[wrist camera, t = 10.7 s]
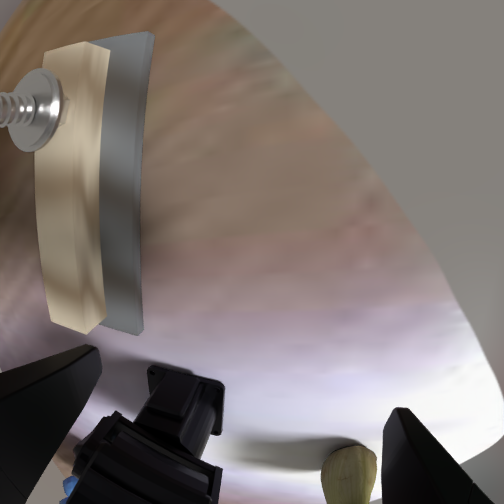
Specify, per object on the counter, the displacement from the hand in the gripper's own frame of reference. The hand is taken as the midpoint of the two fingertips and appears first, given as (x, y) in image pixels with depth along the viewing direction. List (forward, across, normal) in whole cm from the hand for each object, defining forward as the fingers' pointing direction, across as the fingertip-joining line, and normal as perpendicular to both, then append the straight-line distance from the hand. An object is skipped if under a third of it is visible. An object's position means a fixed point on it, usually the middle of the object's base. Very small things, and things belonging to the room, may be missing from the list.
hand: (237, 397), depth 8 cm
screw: (+8, +14, -8) cm, 18 cm away
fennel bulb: (+12, -9, +18) cm, 24 cm away
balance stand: (+12, +14, -3) cm, 19 cm away
